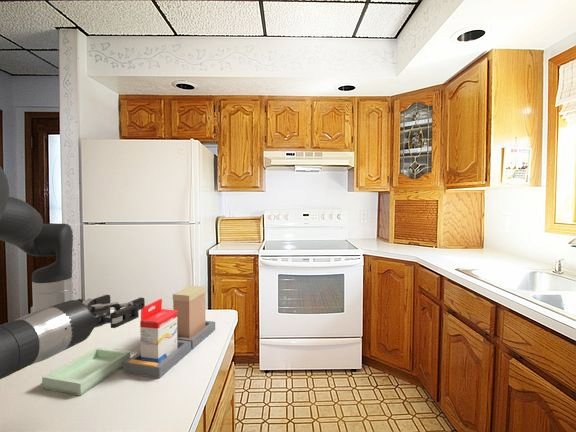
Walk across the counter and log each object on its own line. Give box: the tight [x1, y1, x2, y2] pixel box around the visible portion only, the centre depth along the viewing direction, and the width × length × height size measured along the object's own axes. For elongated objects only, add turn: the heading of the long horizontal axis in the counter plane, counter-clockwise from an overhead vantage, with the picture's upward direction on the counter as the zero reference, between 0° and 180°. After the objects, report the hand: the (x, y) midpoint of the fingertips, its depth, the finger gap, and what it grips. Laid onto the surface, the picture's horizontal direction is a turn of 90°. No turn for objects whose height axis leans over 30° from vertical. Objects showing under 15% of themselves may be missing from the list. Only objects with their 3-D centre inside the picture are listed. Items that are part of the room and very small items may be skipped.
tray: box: [41, 346, 131, 396], centre depth 71 cm, size 10×14×2 cm
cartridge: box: [172, 285, 207, 338], centre depth 91 cm, size 5×9×14 cm, turn 167°
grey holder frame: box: [123, 320, 216, 379], centre depth 84 cm, size 9×27×3 cm, turn 167°
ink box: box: [139, 298, 177, 364], centre depth 77 cm, size 8×5×15 cm, turn 168°
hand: (125, 300), depth 66 cm, fingers open, 8 cm apart
